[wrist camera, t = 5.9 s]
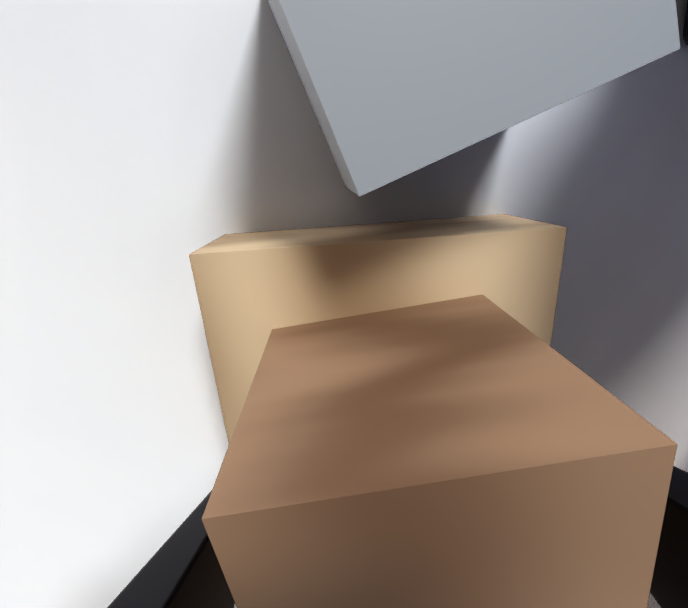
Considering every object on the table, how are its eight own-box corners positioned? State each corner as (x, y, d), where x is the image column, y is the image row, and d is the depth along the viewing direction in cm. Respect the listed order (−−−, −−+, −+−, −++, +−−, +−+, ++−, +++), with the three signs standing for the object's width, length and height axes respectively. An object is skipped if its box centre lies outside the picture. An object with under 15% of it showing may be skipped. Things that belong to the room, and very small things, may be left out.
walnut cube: (482, 294, 10) (677, 444, 4) (488, 461, 12) (627, 710, 6) (271, 329, 10) (201, 519, 5) (312, 489, 12) (297, 759, 7)
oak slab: (499, 212, 13) (566, 227, 10) (482, 434, 17) (527, 509, 13) (228, 232, 13) (188, 254, 9) (266, 452, 17) (247, 533, 13)
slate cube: (457, -116, 10) (626, -500, 4) (512, 109, 12) (680, 48, 6) (262, -11, 11) (186, -225, 5) (345, 187, 12) (359, 196, 7)
